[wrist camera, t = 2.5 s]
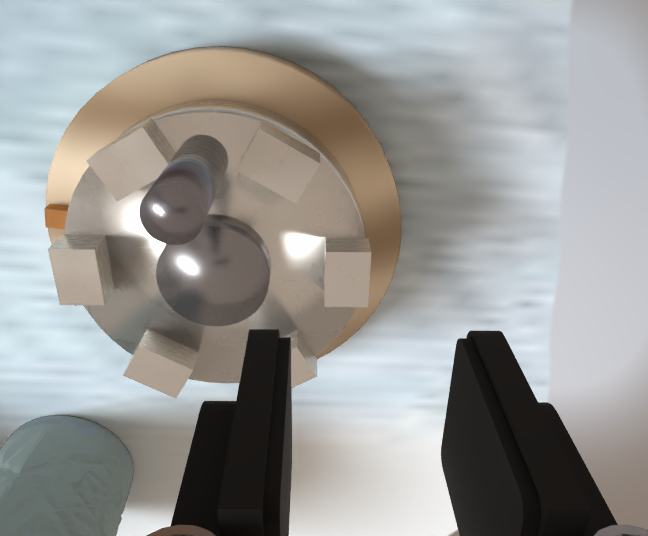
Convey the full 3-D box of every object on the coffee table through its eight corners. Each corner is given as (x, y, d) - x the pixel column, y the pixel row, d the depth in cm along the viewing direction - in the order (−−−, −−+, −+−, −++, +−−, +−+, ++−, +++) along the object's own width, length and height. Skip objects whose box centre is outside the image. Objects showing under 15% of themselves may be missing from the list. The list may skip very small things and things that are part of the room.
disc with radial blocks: (60, 97, 27) (-69, 166, 18) (370, 101, 27) (398, 172, 18) (107, 352, 33) (29, 498, 24) (356, 353, 33) (372, 499, 24)
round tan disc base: (28, 43, 28) (2, 50, 26) (410, 49, 28) (418, 57, 26) (90, 356, 36) (75, 383, 34) (385, 358, 36) (390, 385, 34)
